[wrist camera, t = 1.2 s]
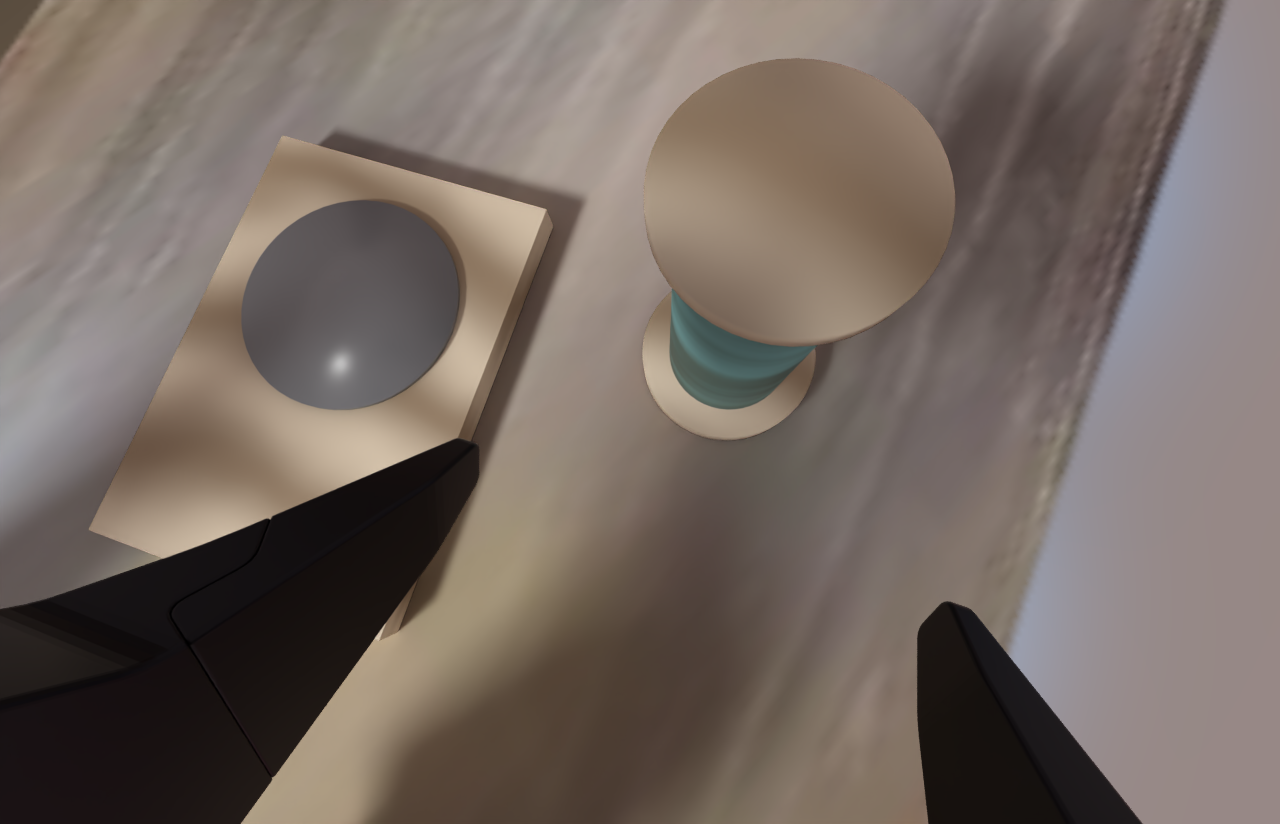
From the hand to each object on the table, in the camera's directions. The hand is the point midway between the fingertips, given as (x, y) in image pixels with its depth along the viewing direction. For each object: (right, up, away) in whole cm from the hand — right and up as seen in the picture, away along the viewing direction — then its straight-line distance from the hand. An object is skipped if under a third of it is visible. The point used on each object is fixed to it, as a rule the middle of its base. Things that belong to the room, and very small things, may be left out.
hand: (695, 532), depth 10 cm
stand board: (-15, +4, +15) cm, 22 cm away
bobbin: (+3, +5, +14) cm, 15 cm away
